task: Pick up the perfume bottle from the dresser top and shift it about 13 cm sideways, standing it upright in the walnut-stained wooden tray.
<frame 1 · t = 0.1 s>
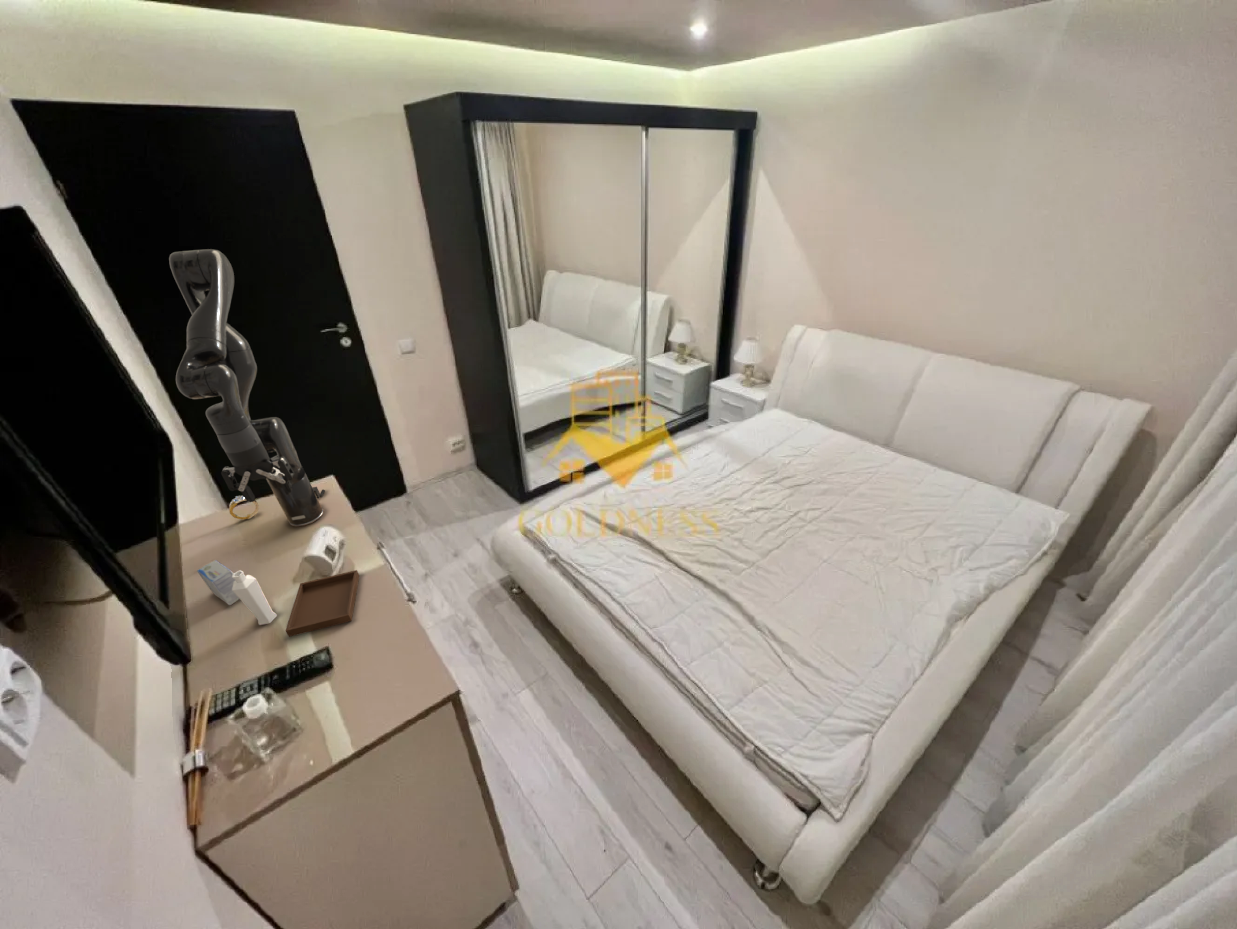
hand: (271, 496, 126), 17 cm above the table, tool pointing down, fingers open, 8 cm apart
ring: (250, 518, 147), on the table
medicine box: (231, 595, 121), on the table
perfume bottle: (267, 619, 114), on the table
tray: (326, 604, 117), on the table
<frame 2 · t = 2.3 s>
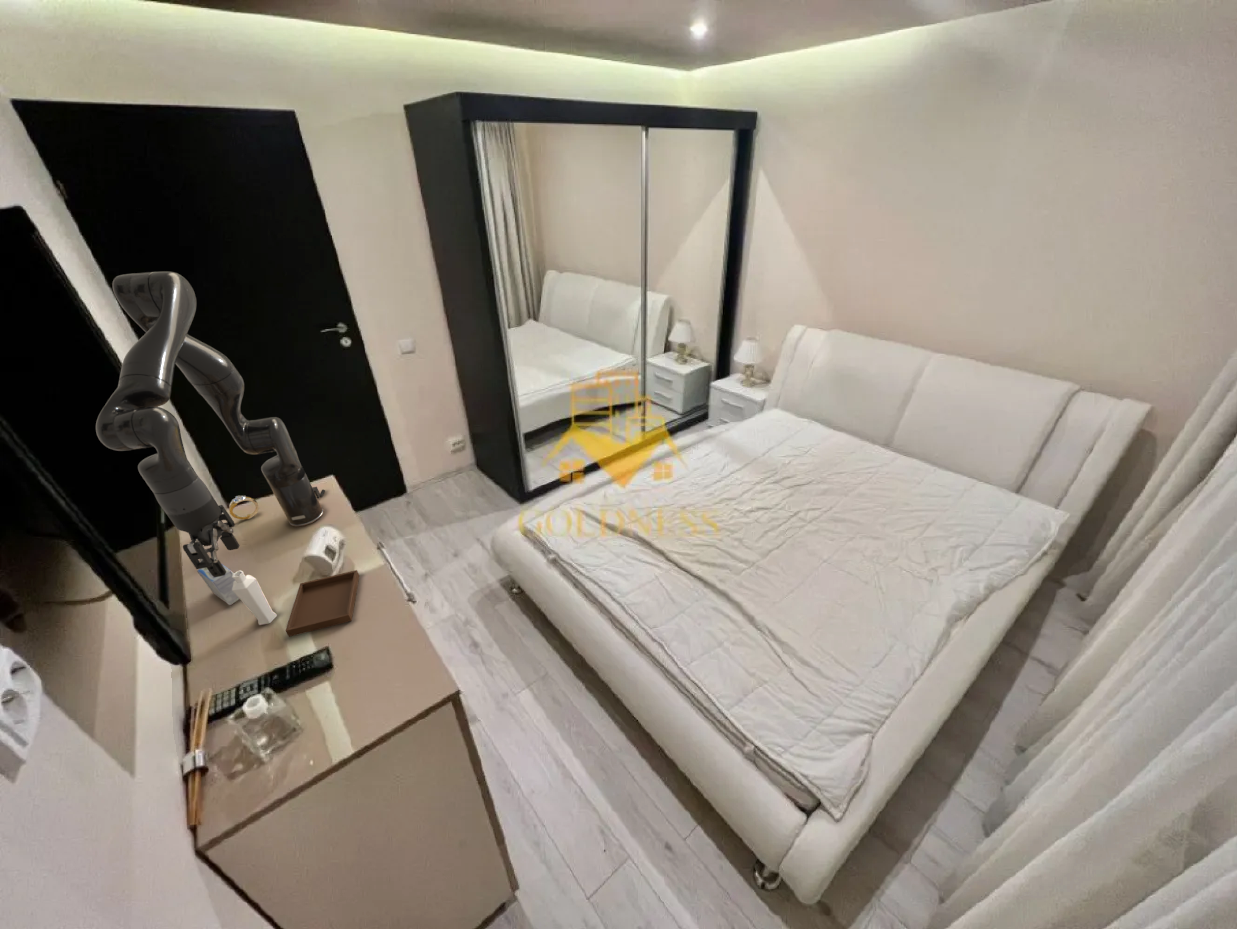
hand: (227, 561, 103), 19 cm above the table, tool pointing down, fingers open, 8 cm apart
nothing on the table moved.
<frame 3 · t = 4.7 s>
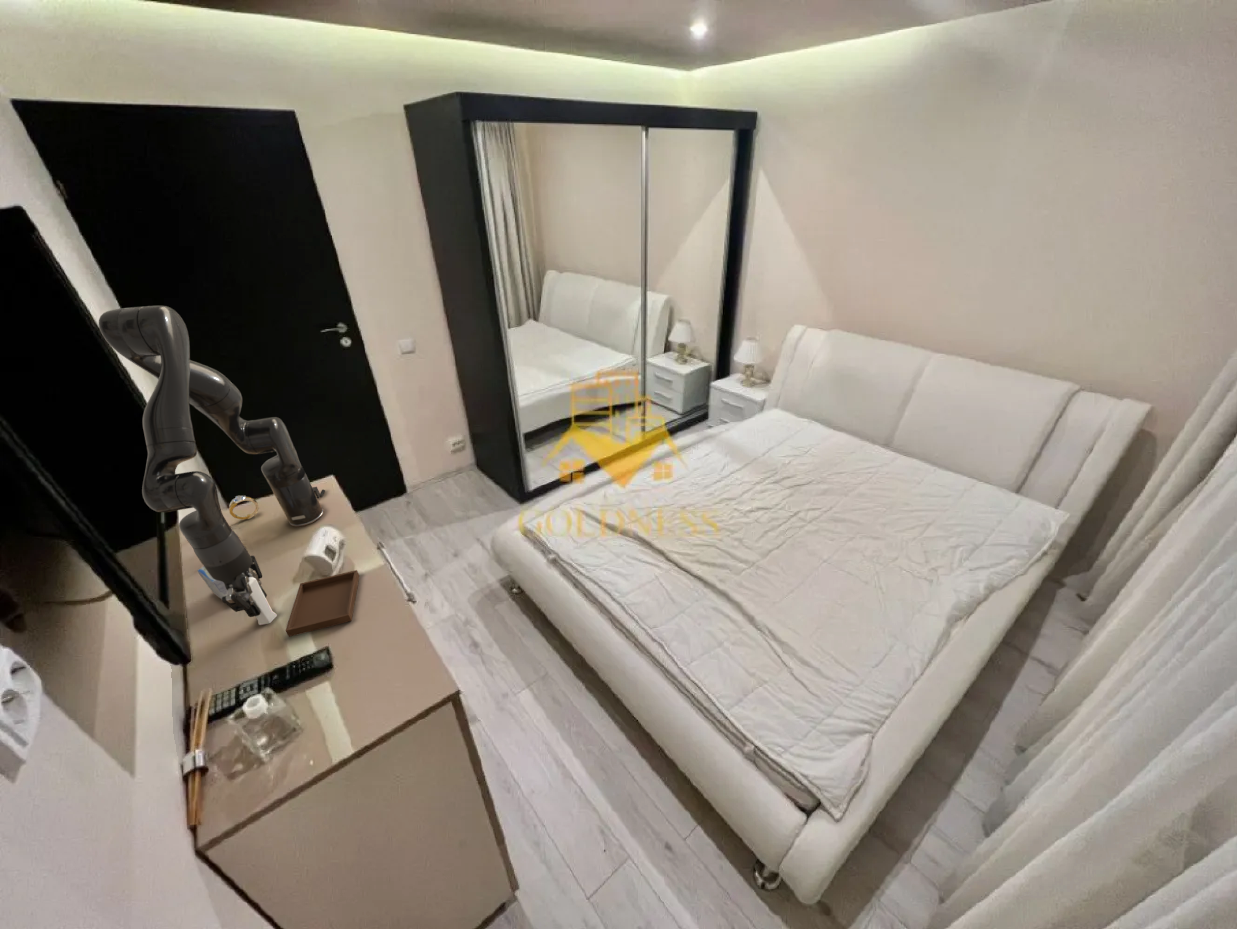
hand: (258, 606, 111), 4 cm above the table, tool pointing down, fingers closed on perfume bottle, 4 cm apart
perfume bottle: (267, 619, 114), on the table, touching gripper
everything else where it was.
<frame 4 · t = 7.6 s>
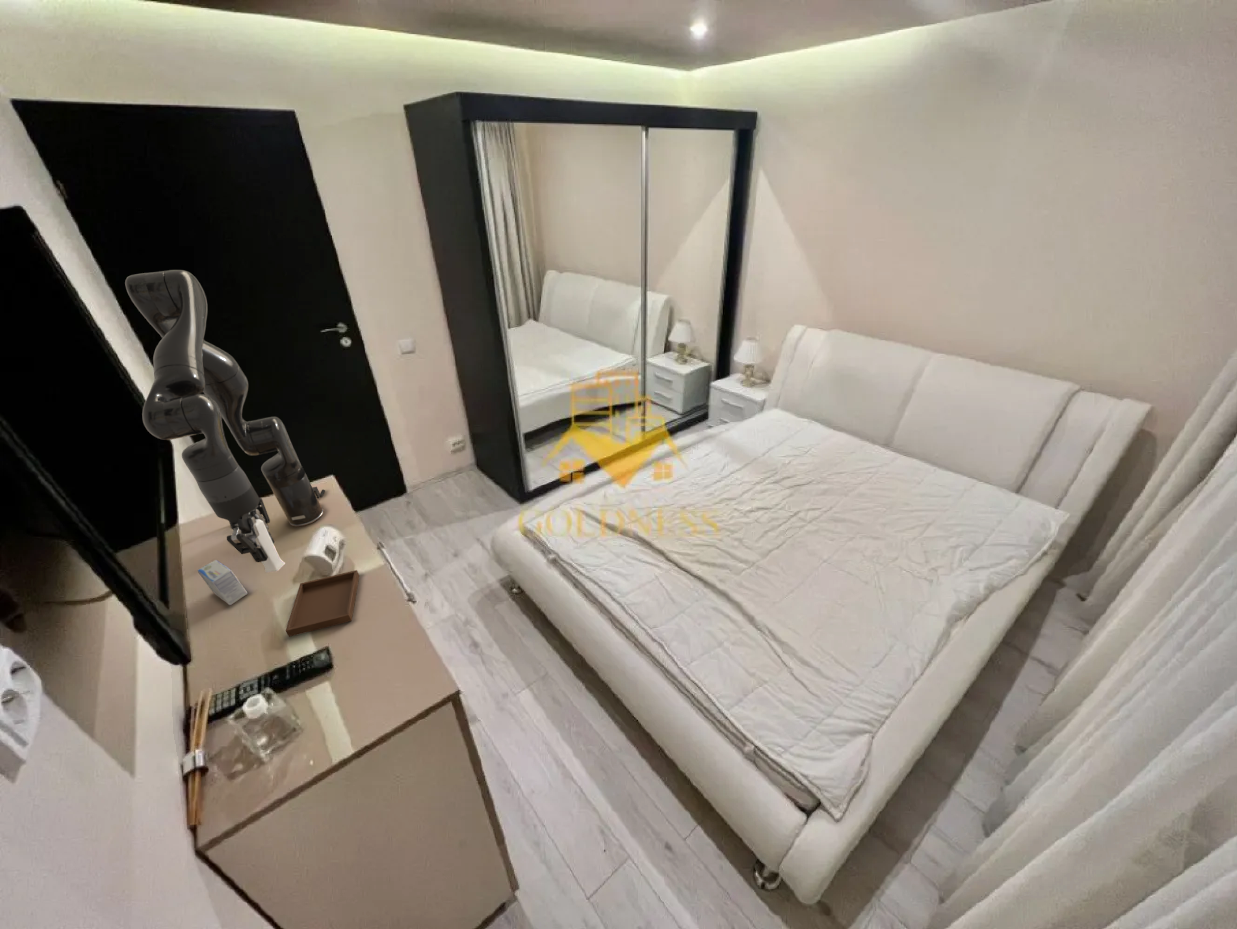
hand: (265, 552, 105), 19 cm above the table, tool pointing down, fingers closed on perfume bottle, 4 cm apart
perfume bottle: (274, 567, 107), point 15 cm above the table, touching gripper
everything else where it was.
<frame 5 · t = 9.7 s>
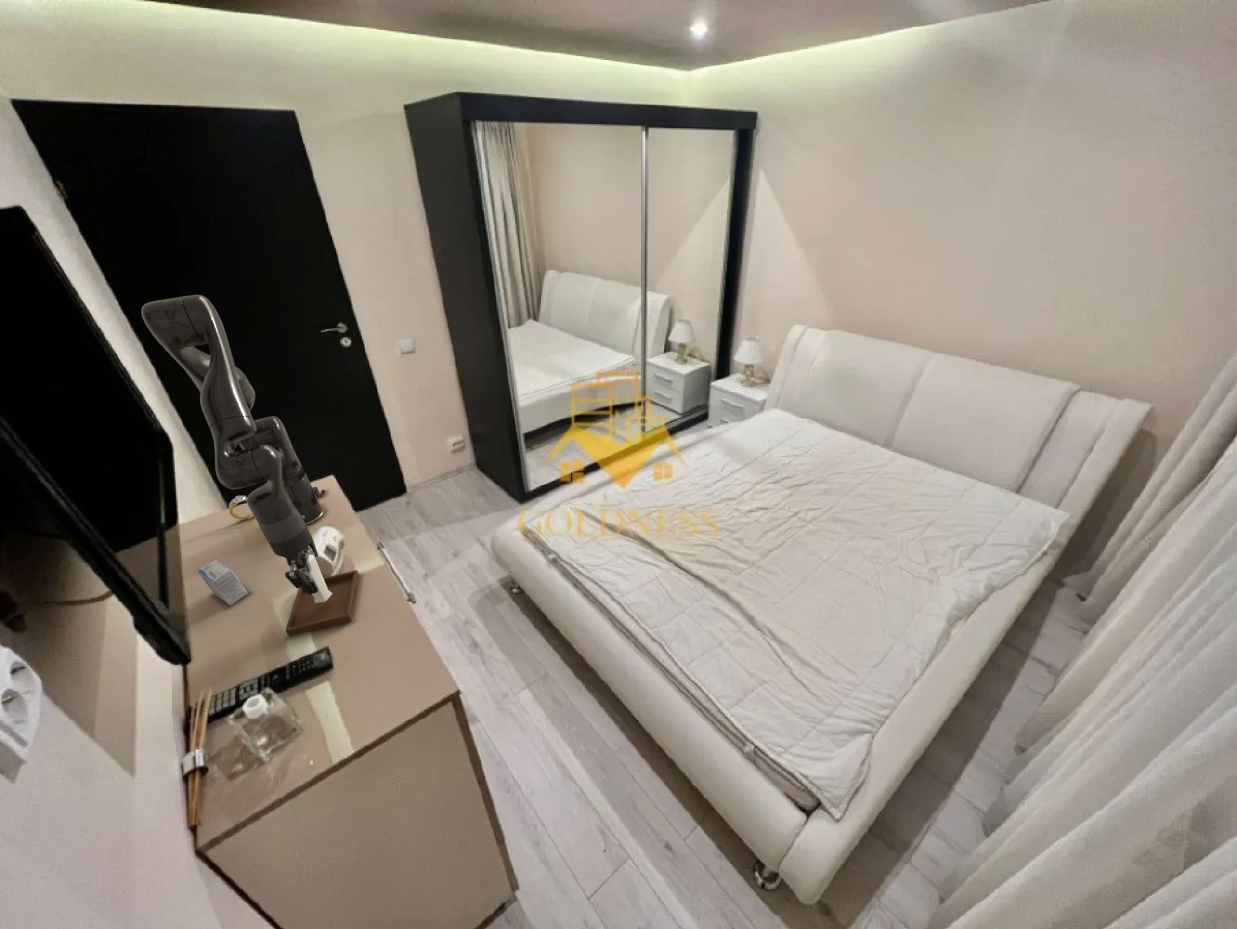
hand: (315, 584, 113), 7 cm above the table, tool pointing down, fingers closed on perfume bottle, 4 cm apart
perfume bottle: (322, 598, 115), point 2 cm above the table, touching gripper
everything else where it was.
when the fingers open (5 cm above the table, at t = 10.8 s): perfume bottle stays where it is, resting on tray.
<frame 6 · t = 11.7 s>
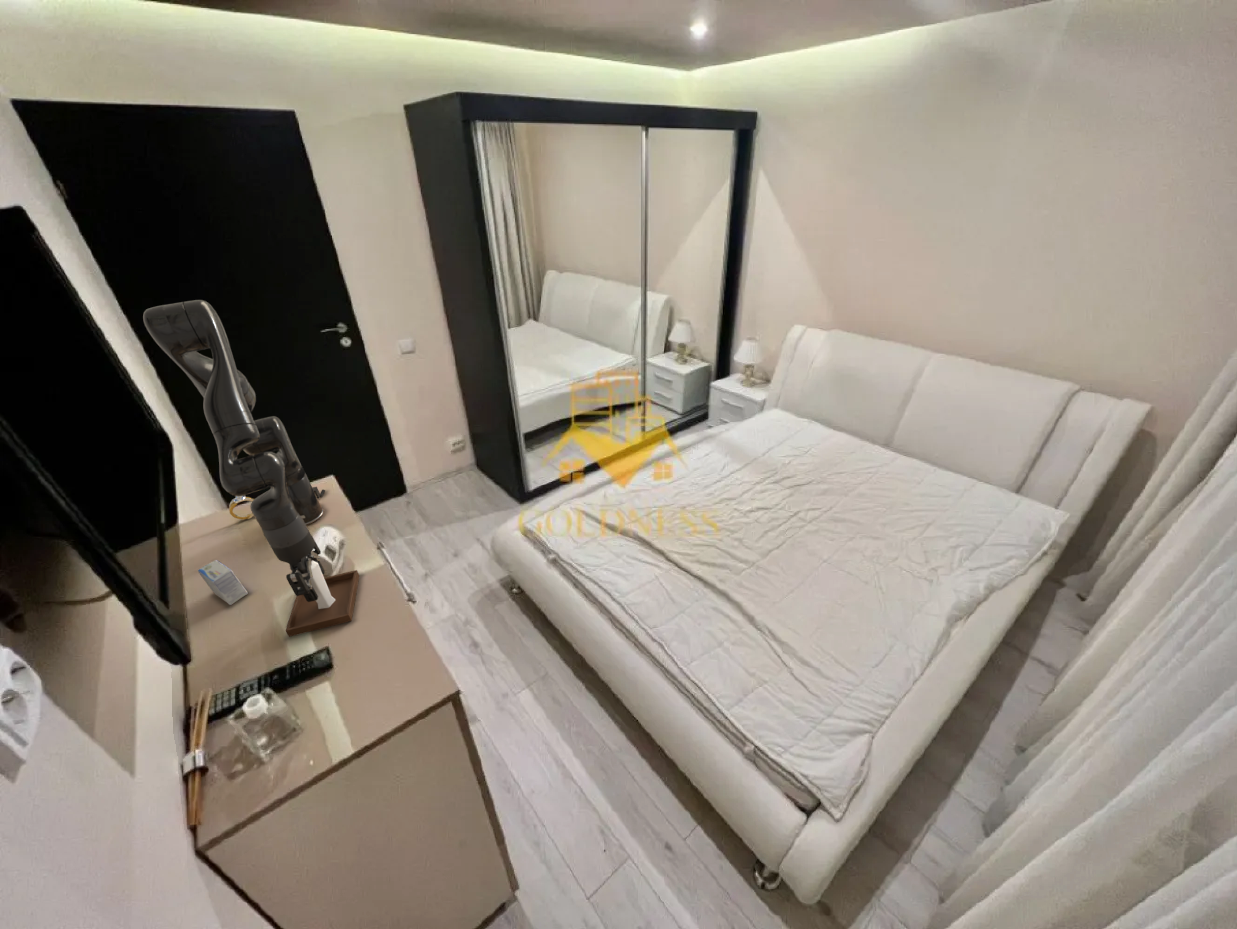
hand: (316, 586, 113), 6 cm above the table, tool pointing down, fingers open, 8 cm apart
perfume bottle: (325, 604, 116), resting on tray
everything else where it was.
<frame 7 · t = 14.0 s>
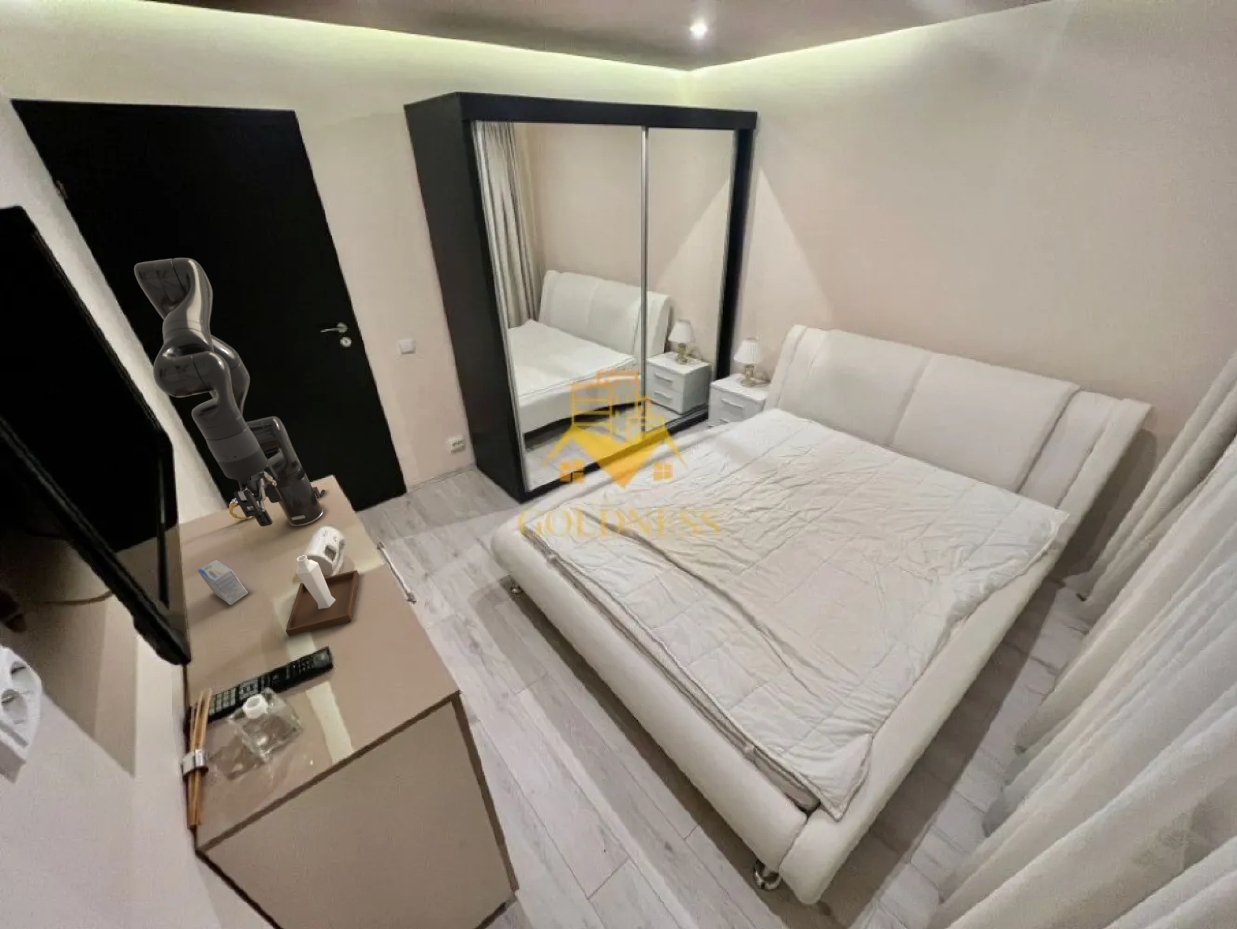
hand: (272, 512, 105), 26 cm above the table, tool pointing down, fingers open, 8 cm apart
nothing on the table moved.
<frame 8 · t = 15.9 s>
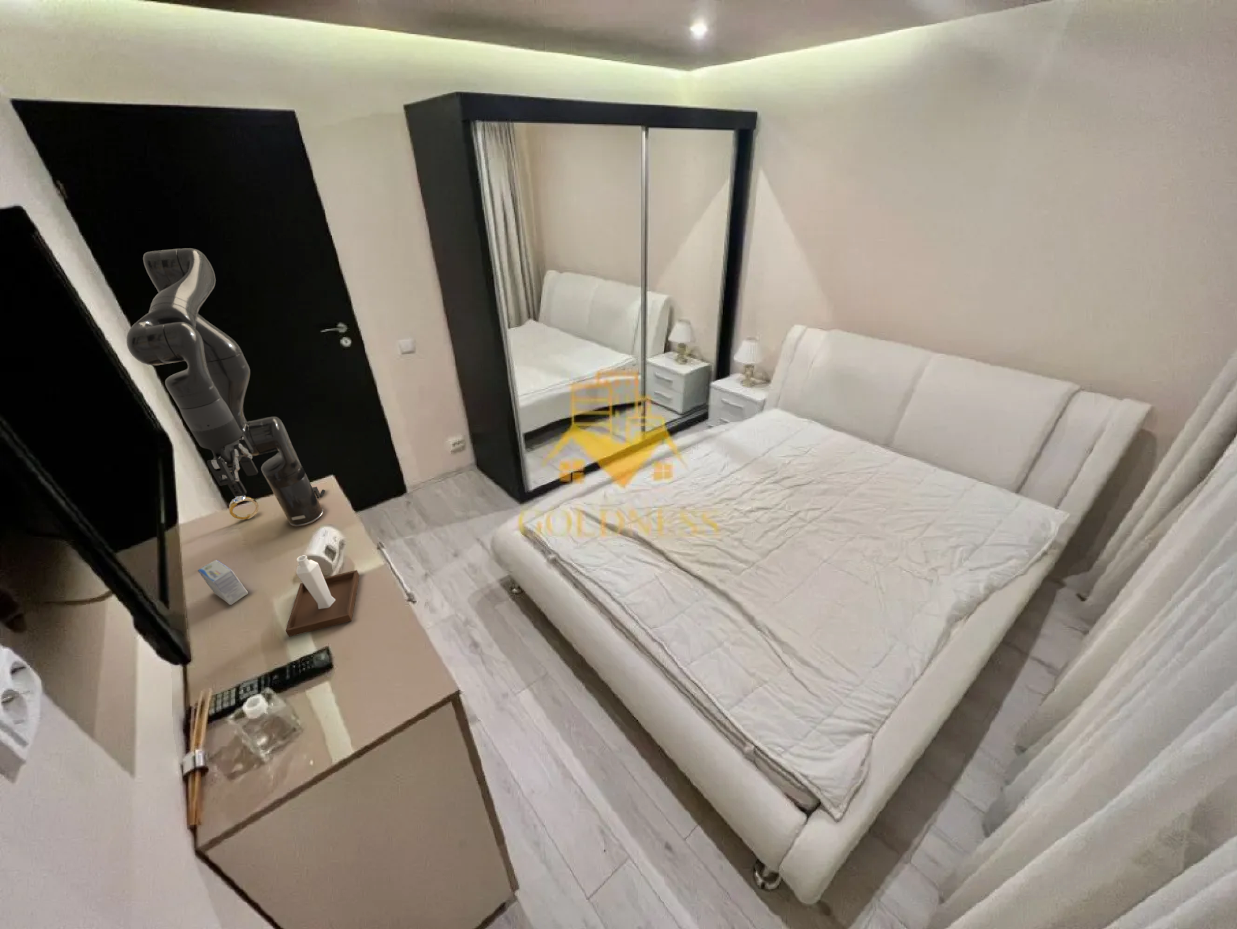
hand: (247, 484, 108), 30 cm above the table, tool pointing down, fingers open, 8 cm apart
nothing on the table moved.
at the end: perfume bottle inside the target area in the tray (0.2 cm from its centre), point 0.3 cm above the tray's base; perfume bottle tilted 0°; the gripper is holding nothing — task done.
